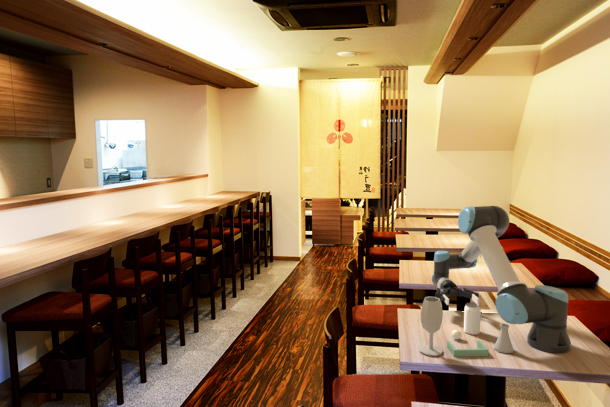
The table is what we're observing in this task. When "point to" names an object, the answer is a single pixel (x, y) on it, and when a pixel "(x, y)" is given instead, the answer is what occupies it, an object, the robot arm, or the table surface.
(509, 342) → the flask
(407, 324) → the table surface
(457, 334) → the ball
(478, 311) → the can
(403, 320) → the table surface
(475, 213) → the robot arm
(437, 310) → the wineglass
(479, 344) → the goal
